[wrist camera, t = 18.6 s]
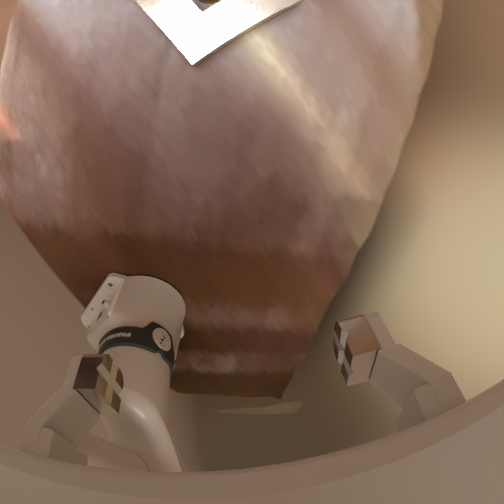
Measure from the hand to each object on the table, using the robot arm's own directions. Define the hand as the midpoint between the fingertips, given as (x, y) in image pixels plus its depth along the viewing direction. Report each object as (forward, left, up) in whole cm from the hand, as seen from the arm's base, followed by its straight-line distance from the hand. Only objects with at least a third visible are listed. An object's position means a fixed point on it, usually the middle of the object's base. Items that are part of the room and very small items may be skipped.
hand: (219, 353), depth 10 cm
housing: (+12, +18, -34) cm, 40 cm away
